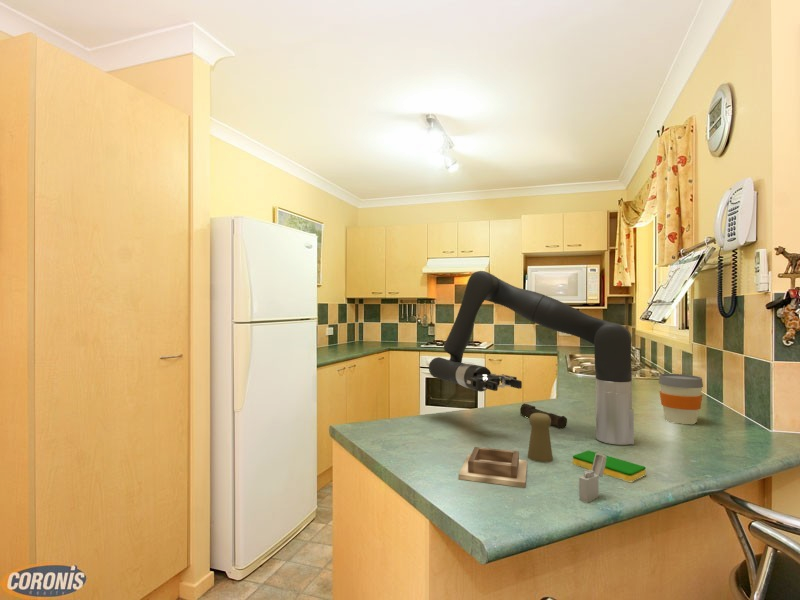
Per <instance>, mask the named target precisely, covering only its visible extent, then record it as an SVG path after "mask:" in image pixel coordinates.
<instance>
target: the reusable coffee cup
mask: <svg viewBox="0 0 800 600" xmlns="http://www.w3.org/2000/svg"><path fill="white" fill-rule="evenodd" d="M658 376H659V377H658V384H659V389H660V390H659V396H660V397H659V398H660V404H661V406H662V408H663V413H664V414H663V415H664V420H665V421H666V420H667V421H666V422H668V421H670V422H669V423H671V422H675V423H674V424H676V423H682V424H681V425H683V424H692V423H696V422H697V423H698V417H699V410H700V409H701V408H702V400H703V395H702V389H703V387H704V384H703V383H704V382H703V378H702V377H701V376H697V375H690V374H684V373H683V374H681V373H680V374H679V373H661V374H659V375H658Z"/></svg>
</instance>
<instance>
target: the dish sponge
mask: <svg viewBox="0 0 800 600" xmlns="http://www.w3.org/2000/svg"><path fill="white" fill-rule="evenodd" d="M596 453H597V452H594V451H592V450H585V451H582V452H580V453H576V454H574V455H572V465H574V464H575V466H577V465H578V466H577V467H581V468H583V467H584V468H583V469H587V470H592V466H593V462H594V458H595V454H596ZM601 454H602V453H601ZM602 455H605V454H602ZM605 456H606V457H607V460H606V464H605V468H604V472H603V475H605V474H606V475H605V476H608V475H610V476H609V477H611V476H613V477H612V478H614V477H617V478H621V479H624V480H627V481H633V480H635V479H637V478H639V477H641V476H643V475H645V474H647V473H646V468H647V467H646V466H644V465H640V464H638V463H637V464H636V463H633V462H630V461H626V460H624V459H619V458H616V457H613V456H609V455H605ZM617 478H616V479H617ZM624 480H623V481H624ZM627 481H626V482H627ZM633 482H634V481H633Z"/></svg>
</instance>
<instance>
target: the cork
mask: <svg viewBox="0 0 800 600" xmlns="http://www.w3.org/2000/svg"><path fill="white" fill-rule="evenodd" d="M528 420H529V421H528V422H529V425H530V426H531V429H530V435H529V444H528V450H527V452H528V453H527V459H529V460H531V461H534V462H538V463H549V462H552V461H553V460H554V458H553V450H552V443H551V435H550V429H549V428H550V427H551V419H550V417H549V416H548V415H547V414H543V413H533V414H531V416H530V418H529V419H528Z"/></svg>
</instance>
